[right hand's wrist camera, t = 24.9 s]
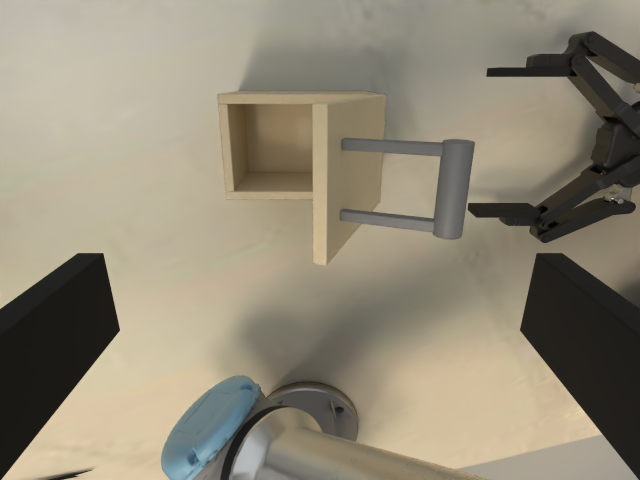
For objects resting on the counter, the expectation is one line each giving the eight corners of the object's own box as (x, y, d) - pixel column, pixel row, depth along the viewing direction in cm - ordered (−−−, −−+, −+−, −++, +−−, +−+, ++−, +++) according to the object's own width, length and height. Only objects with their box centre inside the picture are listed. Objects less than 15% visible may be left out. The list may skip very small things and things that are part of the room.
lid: (312, 263, 26) (454, 286, 23) (311, 103, 22) (479, 107, 19) (370, 201, 39) (465, 210, 36) (375, 94, 36) (481, 96, 33)
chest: (243, 177, 48) (226, 199, 40) (237, 91, 45) (217, 94, 36) (364, 177, 48) (374, 200, 40) (368, 91, 45) (380, 94, 36)
